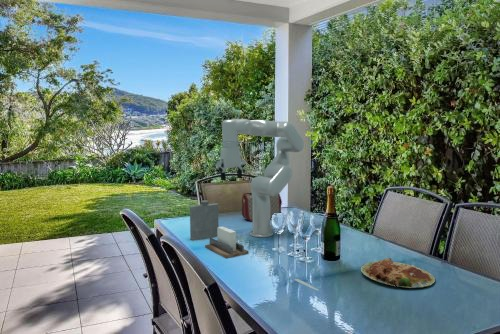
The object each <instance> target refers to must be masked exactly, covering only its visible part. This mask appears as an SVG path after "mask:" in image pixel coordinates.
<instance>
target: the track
mask: <svg viewBox="0 0 500 334" xmlns="http://www.w3.org/2000/svg"><path fill="white" fill-rule="evenodd" d="M204 246H205V247H204V248H206V249H208V250H209V251H211V252H213V253H214V254H217V255H218V256H221V257H223V258H224V259H229V258H236V257H239V256H244V255H249V250H247V249H245V245H243V244H241V243H239V242H237V241H236V251H233V248H232V247H230V246H228V245H225V244H223V243H221V242H219V241H218V239H214V238H209V243H208V244H205V245H204Z"/></svg>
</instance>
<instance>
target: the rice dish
mask: <svg viewBox="0 0 500 334" xmlns="http://www.w3.org/2000/svg"><path fill="white" fill-rule="evenodd" d="M359 269H360V272H361V273H362V274H363V275H364V276H366V278H369V279H371V280H374V281H376V282H378V283H381V284H384V285H388V286H391V287H396V286H397V287H398V288H406V289H408V288H409V289H413V288H418V286H419V288H427V287H430V286H432V285H434V284H435V282H436V278H435V276H434V275H433V273H430V272H429V271H427V270H425V269H424V268H421V267H419V266H416V265H414V264H409V263H404V262H397V261H393V260H392V258H391V257H388V258H384V259H381V260H376V261H369V262H366V263H364V264H362V265H361V266H360V268H359ZM384 282H385V283H384ZM423 283H426V284H427V285H426V284H423ZM395 285H396V286H395ZM412 285H414V286H412ZM420 285H421V286H420ZM409 286H411V287H409Z"/></svg>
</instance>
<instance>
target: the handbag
mask: <svg viewBox="0 0 500 334" xmlns="http://www.w3.org/2000/svg"><path fill="white" fill-rule="evenodd" d="M269 199H270V221H271V218H272V215H273V214H274V213H282V204H283V203H282V202H283V201H282V197H281V195H280V193H279V194H278V195H276V196H269ZM241 204H242V205H241V215H242V217H243V218H244V219H245V220H248V222H249V221H250V222H252V223H253V199H252V192H244V193H243V194H242V198H241Z"/></svg>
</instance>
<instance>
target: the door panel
mask: <svg viewBox="0 0 500 334" xmlns="http://www.w3.org/2000/svg"><path fill="white" fill-rule="evenodd" d="M217 234H218V237H217V241H219V242H221V243H223V244H225V245H228V246H230V247H232V248H233V251H236V242H237V231H235V230H233V229H230V228H228V227H225V226H219V227H217Z"/></svg>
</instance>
